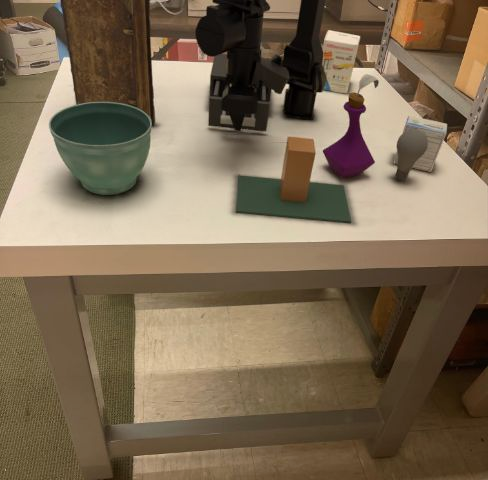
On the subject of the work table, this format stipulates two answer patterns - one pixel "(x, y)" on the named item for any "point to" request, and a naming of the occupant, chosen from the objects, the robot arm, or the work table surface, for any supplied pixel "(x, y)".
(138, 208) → the work table surface
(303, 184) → the box
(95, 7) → the book
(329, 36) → the ink box
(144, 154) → the flower pot
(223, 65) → the dark grey box
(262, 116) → the drawer
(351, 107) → the perfume bottle
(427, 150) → the medicine box
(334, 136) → the work table surface
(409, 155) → the light bulb
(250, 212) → the front mat
